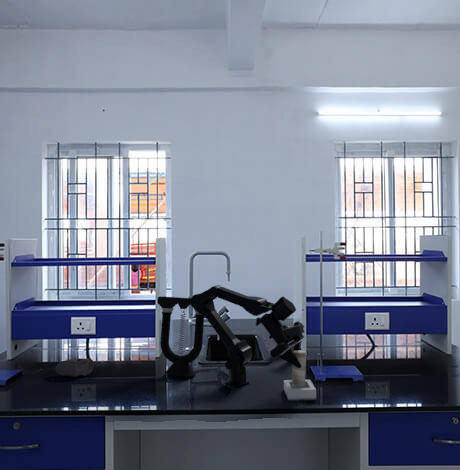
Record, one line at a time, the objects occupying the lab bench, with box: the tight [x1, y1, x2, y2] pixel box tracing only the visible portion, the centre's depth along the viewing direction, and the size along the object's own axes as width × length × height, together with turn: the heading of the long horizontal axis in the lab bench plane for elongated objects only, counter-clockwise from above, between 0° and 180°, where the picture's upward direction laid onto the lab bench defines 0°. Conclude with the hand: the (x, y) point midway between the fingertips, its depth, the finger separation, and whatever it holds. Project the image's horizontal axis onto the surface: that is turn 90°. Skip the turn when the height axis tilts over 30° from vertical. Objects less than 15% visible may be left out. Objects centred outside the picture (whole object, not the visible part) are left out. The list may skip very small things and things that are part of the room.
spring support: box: [156, 296, 205, 378], centre depth 167 cm, size 21×12×30 cm, turn 81°
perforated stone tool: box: [55, 357, 94, 378], centre depth 167 cm, size 15×5×7 cm, turn 85°
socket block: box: [283, 379, 317, 402], centre depth 144 cm, size 9×9×4 cm
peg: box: [291, 349, 307, 386], centre depth 144 cm, size 4×4×11 cm
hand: (303, 365), depth 143 cm, fingers closed on peg, 4 cm apart
